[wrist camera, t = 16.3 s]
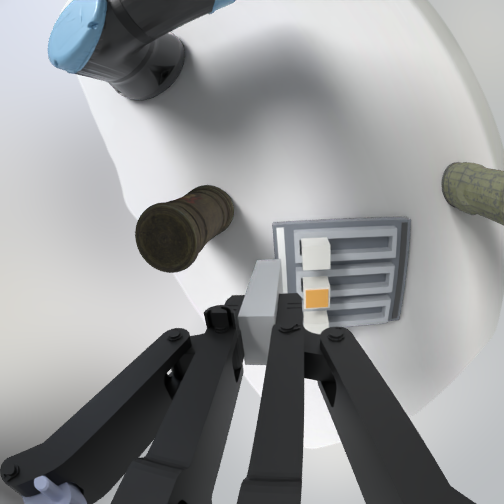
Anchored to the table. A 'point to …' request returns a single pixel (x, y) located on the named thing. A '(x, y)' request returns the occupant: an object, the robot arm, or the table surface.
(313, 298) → the handle
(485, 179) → the thermos
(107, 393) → the robot arm
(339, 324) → the panel
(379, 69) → the table surface
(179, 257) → the container
